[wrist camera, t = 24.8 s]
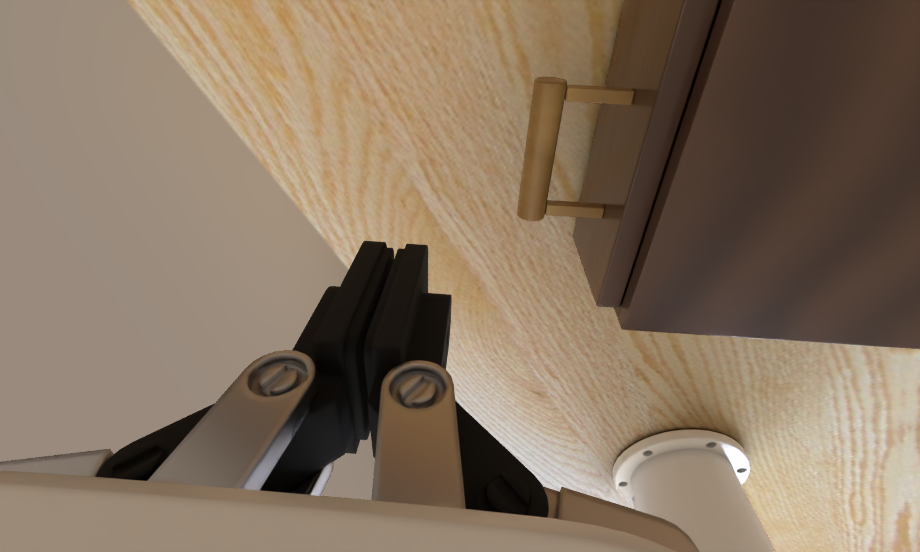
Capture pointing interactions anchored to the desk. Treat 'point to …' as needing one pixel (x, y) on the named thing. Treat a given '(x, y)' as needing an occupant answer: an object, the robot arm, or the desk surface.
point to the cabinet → (792, 182)
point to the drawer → (620, 136)
